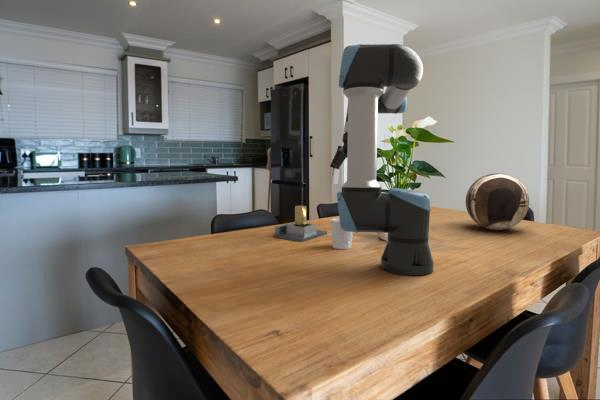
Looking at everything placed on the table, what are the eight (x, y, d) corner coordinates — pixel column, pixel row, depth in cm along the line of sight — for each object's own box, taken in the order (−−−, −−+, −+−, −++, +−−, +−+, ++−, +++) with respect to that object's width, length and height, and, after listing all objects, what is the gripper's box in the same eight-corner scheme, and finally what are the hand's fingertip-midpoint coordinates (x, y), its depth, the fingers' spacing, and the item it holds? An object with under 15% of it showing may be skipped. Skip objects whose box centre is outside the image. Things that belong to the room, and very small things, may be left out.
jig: (302, 241, 148) (302, 229, 148) (273, 237, 156) (273, 225, 156) (327, 234, 163) (327, 222, 162) (299, 229, 171) (299, 219, 170)
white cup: (327, 248, 139) (327, 220, 138) (335, 243, 146) (336, 217, 145) (348, 250, 136) (348, 222, 134) (356, 246, 142) (356, 219, 141)
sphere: (467, 233, 166) (470, 174, 163) (461, 223, 190) (464, 171, 187) (533, 237, 159) (538, 175, 156) (519, 226, 183) (523, 172, 180)
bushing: (302, 235, 155) (302, 207, 153) (292, 233, 157) (292, 206, 156) (308, 233, 159) (308, 206, 157) (299, 231, 161) (299, 205, 160)
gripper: (380, 133, 153) (372, 186, 152) (340, 138, 174) (332, 185, 173) (366, 128, 149) (358, 182, 148) (327, 134, 170) (319, 182, 169)
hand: (344, 184), depth 161 cm, fingers open, 13 cm apart
